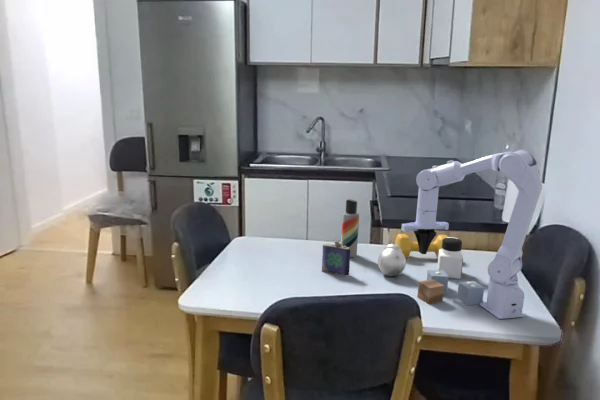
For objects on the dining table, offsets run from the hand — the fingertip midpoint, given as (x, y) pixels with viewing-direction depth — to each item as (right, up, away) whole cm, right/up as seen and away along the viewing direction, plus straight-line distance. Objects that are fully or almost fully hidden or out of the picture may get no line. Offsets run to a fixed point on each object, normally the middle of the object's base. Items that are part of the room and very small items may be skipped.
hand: (422, 253), depth 161 cm
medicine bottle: (+11, -8, +13) cm, 19 cm away
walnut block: (0, -13, -7) cm, 15 cm away
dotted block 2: (+12, -13, -7) cm, 19 cm away
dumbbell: (+6, -5, +28) cm, 29 cm away
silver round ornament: (-8, -8, +11) cm, 15 cm away
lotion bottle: (-20, -4, +27) cm, 34 cm away
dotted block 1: (+4, -11, +1) cm, 12 cm away
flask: (-26, -7, +11) cm, 29 cm away
